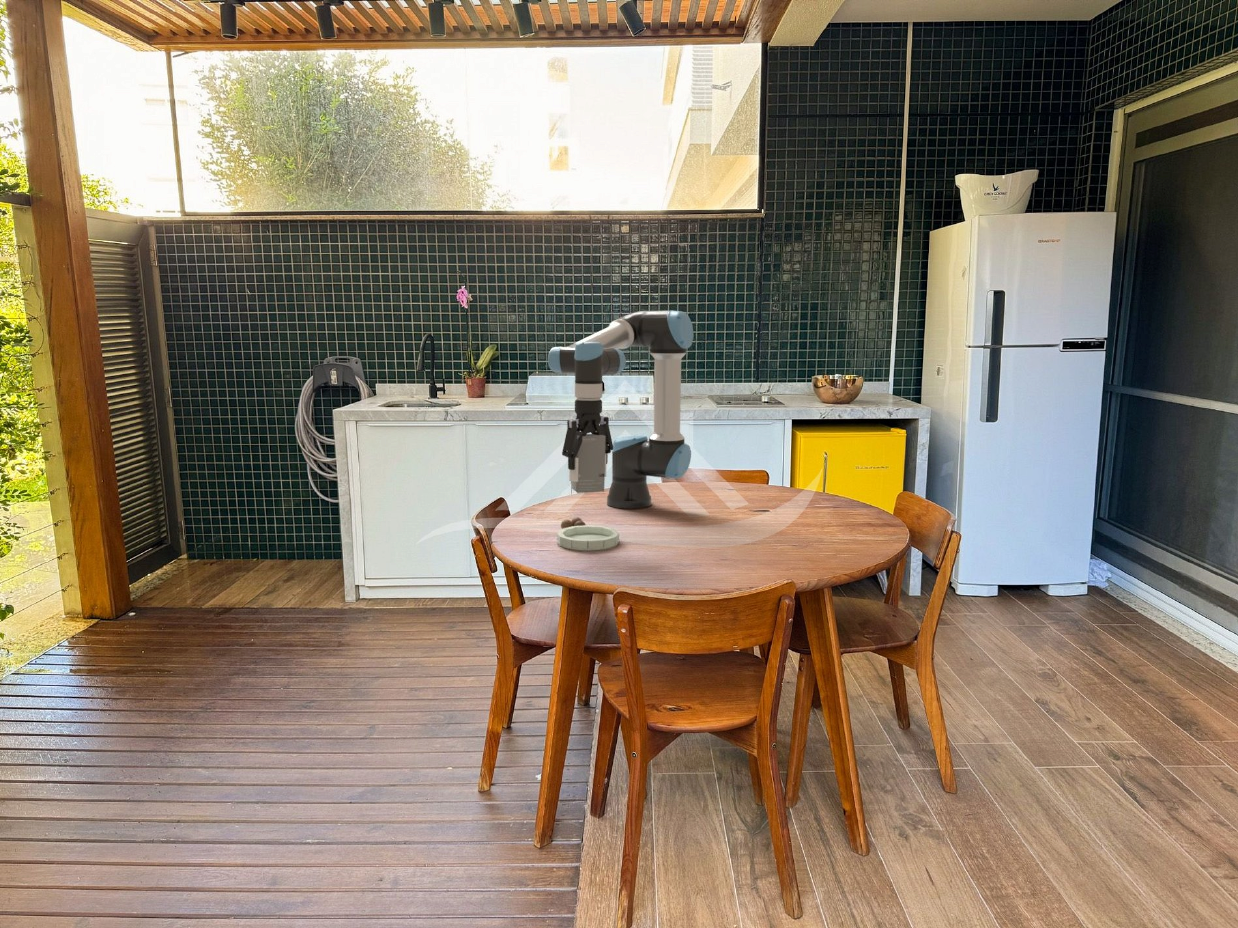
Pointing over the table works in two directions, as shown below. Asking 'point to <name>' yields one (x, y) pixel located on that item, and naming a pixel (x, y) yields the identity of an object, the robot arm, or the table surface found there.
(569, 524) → the bead
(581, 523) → the bead
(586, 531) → the tray
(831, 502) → the table surface
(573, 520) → the bead
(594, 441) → the skincare box
